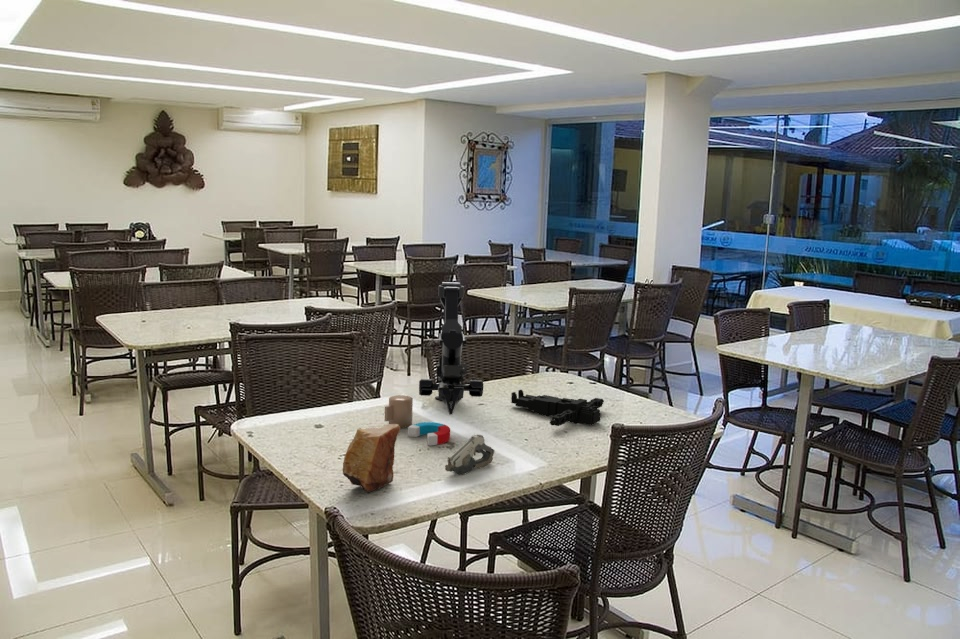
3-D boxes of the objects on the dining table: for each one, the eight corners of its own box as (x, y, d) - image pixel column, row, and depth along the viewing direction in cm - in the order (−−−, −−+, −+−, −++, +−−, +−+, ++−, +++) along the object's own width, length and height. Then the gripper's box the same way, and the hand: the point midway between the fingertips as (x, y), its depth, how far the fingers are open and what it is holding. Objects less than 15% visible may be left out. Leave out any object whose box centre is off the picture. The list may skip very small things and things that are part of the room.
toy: (541, 380, 253) (620, 394, 235) (541, 398, 254) (619, 413, 236) (488, 399, 228) (571, 416, 210) (488, 419, 229) (571, 437, 211)
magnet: (432, 428, 215) (405, 435, 209) (433, 419, 215) (405, 425, 208) (458, 439, 207) (430, 446, 200) (458, 430, 206) (431, 437, 200)
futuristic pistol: (452, 491, 184) (440, 462, 180) (490, 454, 192) (479, 425, 188) (459, 494, 183) (447, 465, 178) (497, 457, 191) (486, 427, 186)
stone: (387, 474, 181) (387, 416, 178) (407, 486, 174) (408, 426, 171) (335, 488, 172) (335, 427, 169) (354, 501, 165) (355, 438, 162)
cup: (377, 425, 216) (378, 399, 215) (401, 419, 223) (401, 393, 221) (393, 431, 212) (393, 405, 210) (416, 424, 218) (417, 399, 217)
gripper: (419, 352, 211) (418, 400, 203) (484, 353, 212) (485, 401, 204) (420, 371, 220) (418, 418, 212) (481, 372, 222) (482, 419, 213)
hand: (450, 413), depth 210 cm, fingers closed
